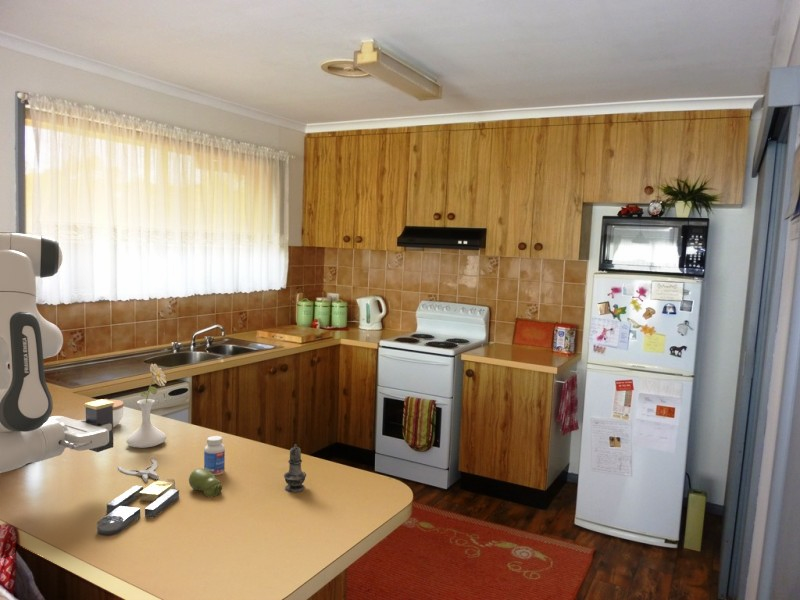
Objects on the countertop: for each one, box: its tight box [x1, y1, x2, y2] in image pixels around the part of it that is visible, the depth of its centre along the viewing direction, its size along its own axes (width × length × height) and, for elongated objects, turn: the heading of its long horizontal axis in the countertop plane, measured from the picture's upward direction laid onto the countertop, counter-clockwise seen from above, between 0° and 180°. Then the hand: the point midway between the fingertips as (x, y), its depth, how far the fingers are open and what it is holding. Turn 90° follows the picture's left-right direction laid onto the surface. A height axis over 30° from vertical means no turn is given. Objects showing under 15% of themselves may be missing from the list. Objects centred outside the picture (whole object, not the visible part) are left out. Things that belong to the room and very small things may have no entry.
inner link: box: [138, 477, 176, 503], centre depth 148 cm, size 10×5×2 cm, turn 171°
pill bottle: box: [203, 435, 226, 477], centre depth 162 cm, size 6×5×10 cm
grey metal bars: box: [96, 485, 180, 537], centre depth 137 cm, size 21×12×2 cm, turn 171°
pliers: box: [117, 458, 160, 483], centre depth 161 cm, size 10×2×15 cm
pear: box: [188, 468, 223, 498], centre depth 150 cm, size 6×5×10 cm
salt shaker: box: [283, 443, 307, 494], centre depth 153 cm, size 6×6×12 cm
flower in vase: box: [126, 363, 167, 449], centre depth 181 cm, size 13×11×25 cm
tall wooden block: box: [83, 398, 114, 453], centre depth 149 cm, size 5×5×12 cm
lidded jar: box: [103, 398, 125, 428], centre depth 198 cm, size 11×11×9 cm
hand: (102, 424), depth 149 cm, fingers closed on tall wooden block, 4 cm apart
